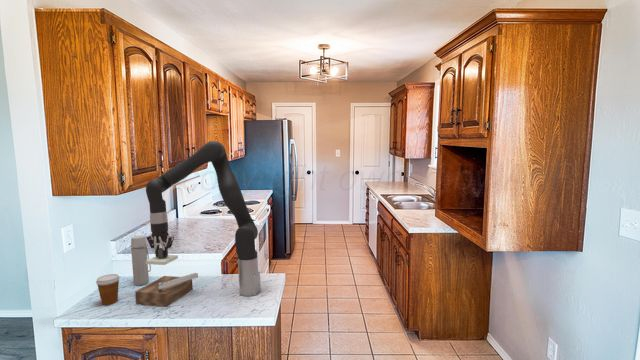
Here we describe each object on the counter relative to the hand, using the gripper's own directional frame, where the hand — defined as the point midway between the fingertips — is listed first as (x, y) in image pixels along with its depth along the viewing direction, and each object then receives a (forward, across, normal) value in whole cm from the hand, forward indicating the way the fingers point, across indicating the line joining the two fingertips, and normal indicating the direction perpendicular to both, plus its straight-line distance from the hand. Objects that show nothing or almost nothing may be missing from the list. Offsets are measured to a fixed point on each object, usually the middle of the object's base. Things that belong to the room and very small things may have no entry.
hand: (161, 257), depth 171 cm
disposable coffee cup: (+19, +21, +11) cm, 31 cm away
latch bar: (+11, -9, +2) cm, 15 cm away
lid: (+2, 0, 0) cm, 2 cm away
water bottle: (+19, +23, -13) cm, 33 cm away
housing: (+19, -1, 0) cm, 19 cm away
